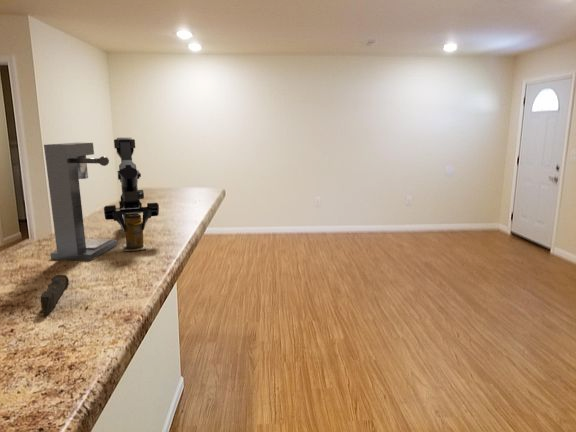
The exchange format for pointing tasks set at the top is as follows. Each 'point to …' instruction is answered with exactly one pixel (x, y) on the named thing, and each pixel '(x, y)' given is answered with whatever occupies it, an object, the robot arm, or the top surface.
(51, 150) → the coffee machine
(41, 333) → the top surface
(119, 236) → the top surface
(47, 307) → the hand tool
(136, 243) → the condiment
